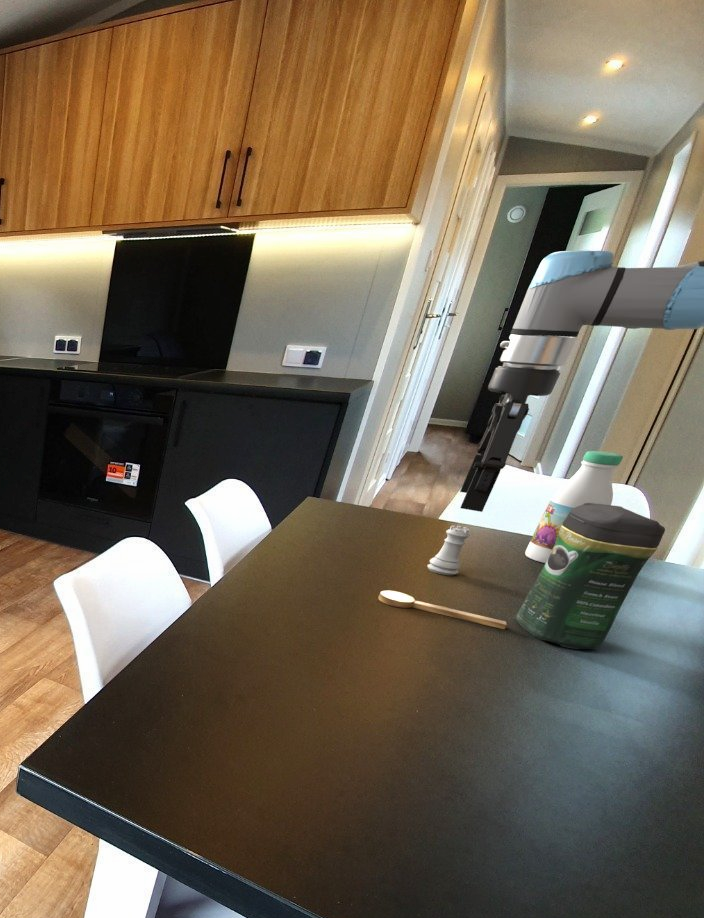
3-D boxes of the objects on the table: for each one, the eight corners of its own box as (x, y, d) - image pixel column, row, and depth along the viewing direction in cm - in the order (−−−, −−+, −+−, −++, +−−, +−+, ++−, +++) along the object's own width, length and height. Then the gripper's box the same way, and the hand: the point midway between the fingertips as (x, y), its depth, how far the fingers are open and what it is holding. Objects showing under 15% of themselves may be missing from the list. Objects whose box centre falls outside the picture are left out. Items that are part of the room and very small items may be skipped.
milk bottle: (573, 559, 119) (628, 452, 110) (585, 571, 113) (644, 460, 104) (519, 550, 123) (569, 446, 114) (528, 562, 117) (581, 453, 108)
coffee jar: (610, 656, 84) (688, 523, 76) (536, 645, 87) (605, 514, 79) (571, 626, 92) (637, 503, 84) (504, 616, 95) (563, 495, 87)
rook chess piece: (459, 571, 111) (478, 528, 108) (456, 578, 108) (476, 534, 105) (427, 564, 114) (445, 522, 110) (424, 571, 111) (442, 527, 107)
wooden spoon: (503, 622, 93) (506, 616, 92) (505, 633, 90) (508, 627, 89) (379, 593, 101) (381, 587, 101) (377, 602, 98) (379, 596, 98)
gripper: (493, 360, 107) (443, 482, 117) (501, 368, 90) (441, 512, 99) (553, 364, 103) (496, 491, 112) (573, 373, 86) (503, 523, 95)
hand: (470, 501), depth 106 cm, fingers open, 13 cm apart
